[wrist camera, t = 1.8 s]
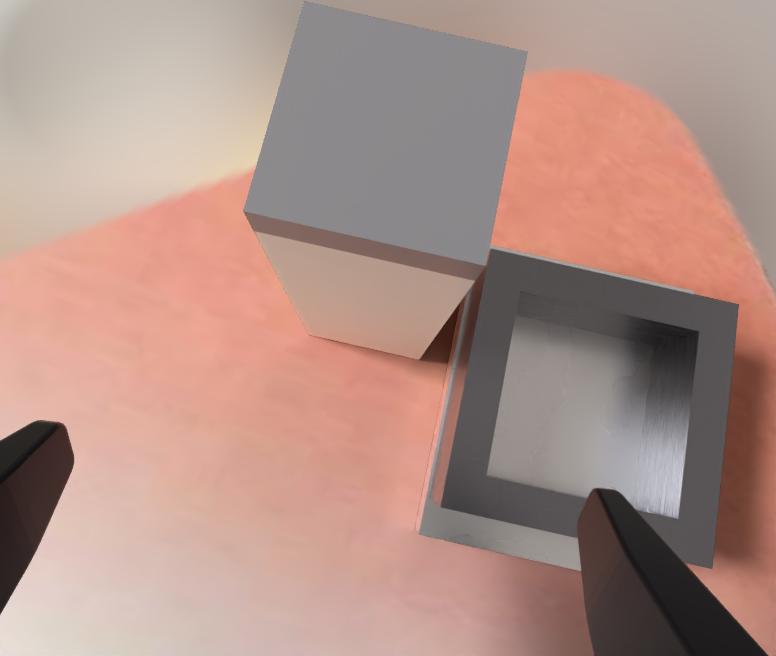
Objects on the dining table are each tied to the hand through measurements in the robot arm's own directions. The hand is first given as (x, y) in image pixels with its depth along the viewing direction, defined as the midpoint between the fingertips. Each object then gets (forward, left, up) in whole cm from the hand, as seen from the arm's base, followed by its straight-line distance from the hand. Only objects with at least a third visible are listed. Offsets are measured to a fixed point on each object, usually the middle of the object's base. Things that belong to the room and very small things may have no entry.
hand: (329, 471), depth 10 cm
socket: (+3, -7, -12) cm, 15 cm away
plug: (+6, 0, -12) cm, 14 cm away
